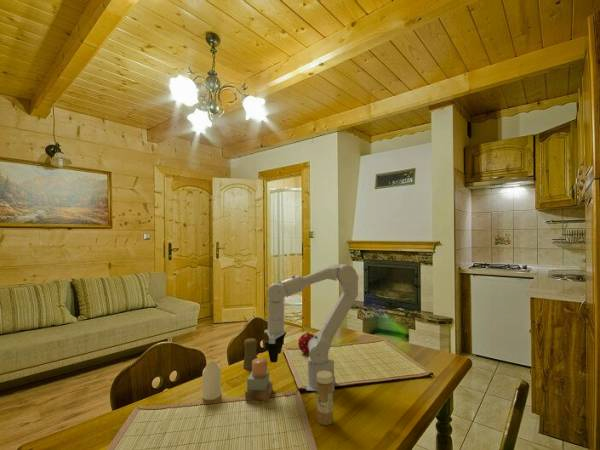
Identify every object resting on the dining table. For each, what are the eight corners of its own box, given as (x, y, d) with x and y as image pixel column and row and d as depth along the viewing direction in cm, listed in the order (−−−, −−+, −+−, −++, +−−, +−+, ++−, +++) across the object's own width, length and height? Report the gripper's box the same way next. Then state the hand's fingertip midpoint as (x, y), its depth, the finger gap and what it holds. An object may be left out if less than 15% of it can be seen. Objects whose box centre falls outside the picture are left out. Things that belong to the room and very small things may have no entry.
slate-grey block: (269, 381, 107) (268, 371, 107) (265, 390, 101) (265, 379, 101) (251, 381, 107) (251, 370, 107) (247, 390, 101) (247, 379, 101)
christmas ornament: (318, 357, 134) (317, 333, 135) (298, 357, 134) (297, 333, 135) (317, 349, 143) (317, 327, 143) (298, 349, 143) (298, 327, 143)
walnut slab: (272, 391, 107) (272, 380, 107) (268, 403, 100) (268, 392, 100) (251, 390, 108) (251, 380, 108) (245, 402, 101) (245, 391, 101)
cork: (255, 370, 123) (254, 342, 123) (240, 369, 124) (240, 341, 124) (260, 363, 129) (259, 337, 129) (246, 363, 130) (246, 336, 130)
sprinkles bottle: (314, 421, 89) (313, 374, 89) (323, 414, 92) (322, 368, 92) (327, 428, 86) (326, 378, 86) (336, 420, 89) (335, 372, 90)
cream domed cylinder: (218, 355, 108) (222, 360, 103) (219, 390, 108) (223, 397, 103) (200, 358, 105) (203, 364, 100) (201, 394, 105) (204, 402, 100)
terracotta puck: (267, 370, 107) (267, 357, 107) (267, 377, 102) (266, 364, 102) (252, 371, 107) (252, 358, 107) (251, 378, 102) (251, 365, 102)
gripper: (269, 312, 117) (268, 349, 117) (259, 323, 102) (259, 365, 102) (287, 313, 116) (287, 349, 116) (281, 324, 102) (280, 366, 101)
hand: (275, 357), depth 109 cm, fingers open, 7 cm apart
